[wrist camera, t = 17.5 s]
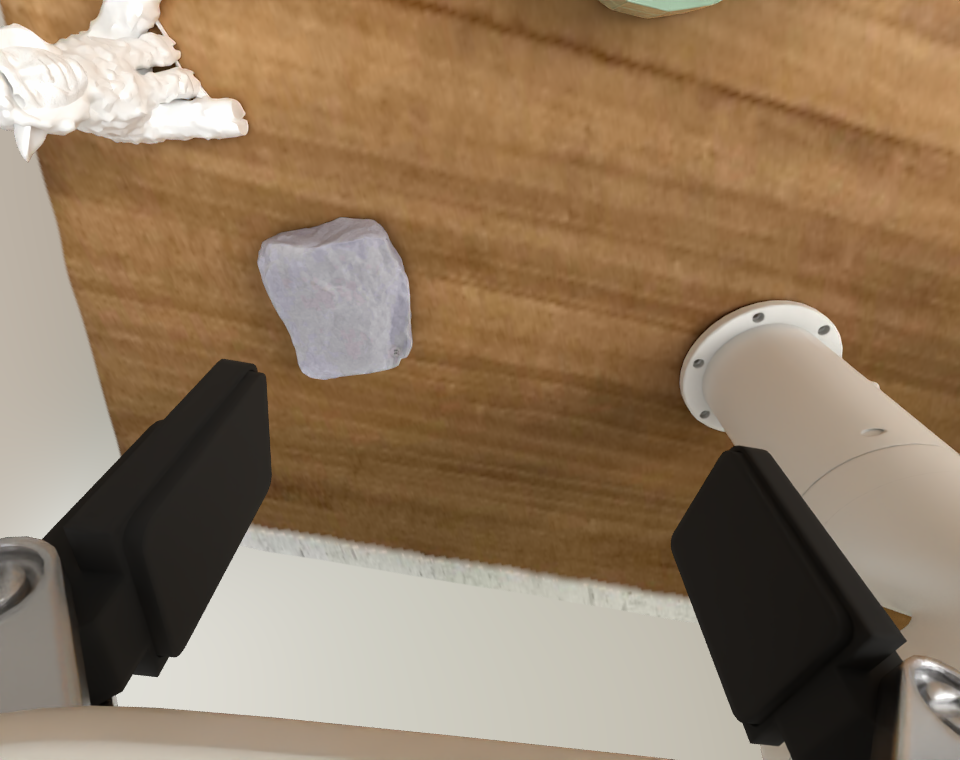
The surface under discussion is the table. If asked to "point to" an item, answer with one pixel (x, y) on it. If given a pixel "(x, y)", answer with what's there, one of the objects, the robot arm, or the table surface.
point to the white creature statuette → (107, 84)
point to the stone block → (340, 296)
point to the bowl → (656, 7)
